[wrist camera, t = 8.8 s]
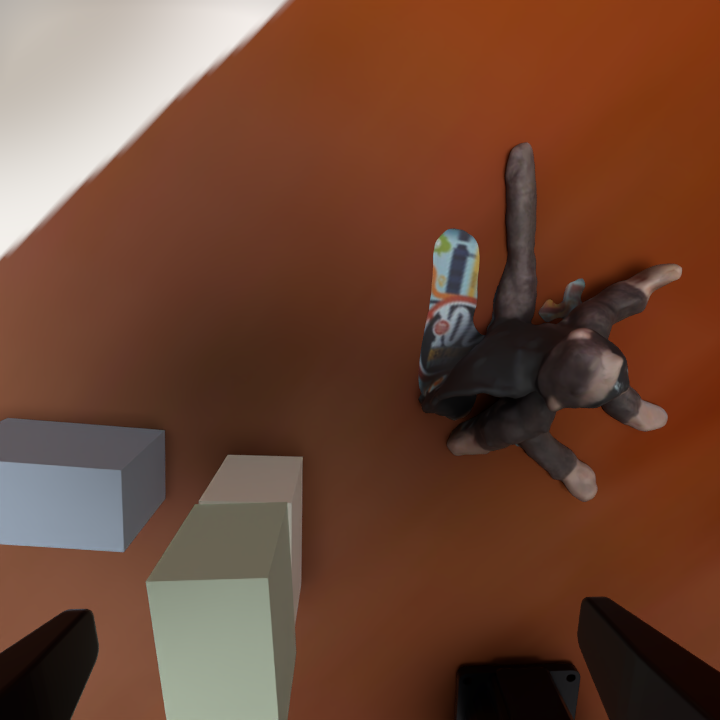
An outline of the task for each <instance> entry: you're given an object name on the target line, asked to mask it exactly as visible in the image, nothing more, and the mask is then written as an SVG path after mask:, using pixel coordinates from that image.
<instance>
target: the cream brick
mask: <svg viewBox="0 0 720 720" xmlns="http://www.w3.org/2000/svg"><path fill="white" fill-rule="evenodd" d="M302 472H303V457H293V456H255V455H227V457H226V458H225V460H224V462H223V463H222V465H221V466H220V468H219V469H218V471H217V473H216V474H215V476H214V477H213V479H212V481H211V482H210V484H209V485H208V487H207V489H206V490H205V492H204V493H203V495H202V497H201V498H200V500H199V504H228V503H265V502H287V503H288V520H289V537H290V554H291V571H292V588H293V605H294V622H295V623H296V616H297V609H298V602H299V596H300V589H301V563H302Z"/></svg>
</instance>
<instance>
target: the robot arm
mask: <svg viewBox="0 0 720 720" xmlns="http://www.w3.org/2000/svg"><path fill="white" fill-rule="evenodd" d="M577 636H578V643H579V647H580V649H581V652H582V654H583V657H584V659H585V662H586V664H587V666H588V669H589V671H590V674H591V676H592V679H593V681H594V683H595V686H596V688H597V691H598V693H599V696H600V698H601V700H602V703H603V705H604V708H605V710H606V713H607V715H608V717H609V720H720V672H719V671H717V670H716V669H714V668H713V667H711V666H710V665H708V664H707V663H705V662H704V661H702V660H701V659H699V658H698V657H696V656H695V655H693V654H692V653H690V652H689V651H687V650H686V649H684V648H683V647H681V646H680V645H678V644H677V643H675V642H674V641H672V640H671V639H669V638H668V637H666V636H665V635H663V634H662V633H660V632H659V631H657V630H656V629H654V628H653V627H651V626H650V625H648V624H647V623H645V622H644V621H642V620H641V619H639V618H638V617H636V616H635V615H633V614H632V613H630V612H629V611H627V610H626V609H624V608H623V607H621V606H620V605H618V604H617V603H615V602H614V601H612V600H611V599H609V598H607V597H586V598H584V599H583V600H582V603H581V609H580V616H579V624H578V631H577ZM98 651H99V643H98V638H97V632H96V626H95V621H94V615H93V613H92V611H91V610H88V609H70V610H66V611H64V612H62V613H60V614H59V615H57V616H56V617H54V618H53V619H51V620H50V621H48V622H47V623H45V624H44V625H42V626H41V627H39V628H38V629H36V630H35V631H33V632H32V633H30V634H29V635H27V636H26V637H24V638H23V639H21V640H20V641H18V642H16V643H15V644H13V645H12V646H10V647H9V648H7V649H6V650H4V651H3V652H1V653H0V720H71V718H72V715H73V713H74V711H75V708H76V706H77V704H78V702H79V699H80V697H81V695H82V692H83V690H84V688H85V685H86V683H87V681H88V679H89V676H90V674H91V672H92V669H93V667H94V665H95V662H96V660H97V656H98ZM579 683H580V674H579V672H578V671H577V669H576V667H575V666H574V665H572V664H534V665H499V666H466V667H462V668H460V669H459V670H458V672H457V680H456V698H455V716H454V720H575V712H576V705H577V698H578V691H579Z"/></svg>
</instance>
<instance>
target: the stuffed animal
mask: <svg viewBox="0 0 720 720" xmlns="http://www.w3.org/2000/svg"><path fill="white" fill-rule="evenodd" d="M505 182H506V200H507V209H506V227H507V248H508V258H507V263H506V266H505V269H504V272H503V275H502V278H501V280H500V283H499V285H498V287H497V290H496V293H495V296H494V300H493V302H494V304H493V314H492V317H493V318H492V320H491V322H490V324H489V326H488V327H487V333H486V335H482V334H480V333H479V332H478V331H477V330H476V328H475V327H474V323H473V315H474V312H475V308H476V304H477V280H478V272H479V248H478V244H477V242H476V240H475V239H474V238H473V237H472V236H471V235H469V234H468V233H467V232H465V231H463V230H459V229H448V230H447V231H445V232H444V233H443V234H442V235H441V236H440V237H439V238H438V240H437V241H436V244H435V248H434V254H433V279H432V287H431V299H430V307H429V312H428V315H427V321H426V326H425V331H424V336H423V341H422V347H421V354H420V363H419V387H420V390H421V396H420V397H419V402H420V403H421V406H422V410H423V411H424V412H425V413H435V414H438V415H440V416H446V417H447V418H449V419H451V420H458V419H461V418H463V417H465V416H467V415H468V414H469V413H470V411H471V409H472V407H473V405H474V403H475V401H476V396H477V394H480V393H485V394H489V395H492V396H495V397H502V398H500V399H499V400H498V401H497V402H495V403H494V404H493V405H492V406H491V407H490V408H488V409H487V410H485V411H484V412H482V413H481V414H479V415H478V416H476V417H473V418H471V419H470V420H467V421H465V422H463V423H461V424H459V425H458V426H457V427H456V428H455V429H454V430H453V431H452V433H451V434H450V437H449V440H448V442H447V447H448V448H449V450H450V451H451V452H452V453H453V454H454V455H456V456H461V455H466V454H470V455H474V454H487V453H489V452H490V451H494V450H498V449H502V448H505V447H508V446H509V445H513V444H515V445H516V446H520V447H521V448H523V449H524V450H525V451H526V453H527V455H528V456H529V457H531V458H533V459H534V460H535V461H536V462H537V463H538V464H539V465H540V466H541V467H543V468H544V469H545V470H547V471H548V472H549V474H550V476H551V477H552V478H553V479H556V480H561V481H562V482H563V483H564V484H565V486H566V487H567V489H568V490H569V492H570V493H571V494H572V495H573V496H574V497H576V498H578V499H579V500H581V501H583V502H586V501H588V500H590V499H592V498H594V496H595V494H596V492H597V485H596V478H595V473H594V472H593V470H592V469H591V468H590V467H589V466H588V465H587V464H585V463H583V462H581V461H579V460H578V459H577V457H576V455H575V454H574V453H573V452H572V451H571V450H570V449H569V448H568V447H566V446H564V445H562V444H561V443H560V442H558V441H557V440H556V439H555V438H553V437H552V435H551V434H550V433H549V430H550V426H551V423H552V422H553V420H554V417H555V414H556V411H558V410H560V409H562V408H597V407H600V406H602V408H603V409H604V411H605V412H606V413H608V414H609V415H610V416H611V417H613V418H615V419H617V420H618V421H620V422H621V423H623V424H626V425H629V426H631V427H633V428H635V429H638V430H641V431H651V430H654V429H658V428H661V427H663V426H664V425H665V424H666V422H667V418H668V417H667V414H666V412H665V410H664V409H663V408H661V407H659V406H657V405H654V404H652V403H649V402H646V401H643V400H641V397H640V396H639V394H638V393H637V392H636V391H635V390H634V389H633V388H632V387H630V386H629V378H628V366H627V360H626V358H625V356H624V355H623V353H622V352H621V351H620V349H619V348H618V347H617V346H616V345H614V344H613V343H612V342H610V341H609V340H608V337H609V334H610V331H611V327H612V325H613V324H615V323H617V322H619V321H621V320H623V319H625V318H627V317H629V316H632V315H634V314H638V313H640V312H642V311H643V310H644V309H645V307H646V305H647V302H648V300H649V297H650V295H651V293H652V292H653V291H655V290H657V289H659V288H660V287H663V286H665V285H667V284H669V283H670V282H672V281H675V280H677V279H679V278H680V276H681V273H682V268H681V267H680V266H678V265H676V264H660V265H655V266H652V267H650V268H647V269H645V270H643V271H641V272H640V273H638V274H636V275H634V276H633V277H631V278H629V279H628V280H625V281H621V282H617V283H615V284H612V285H610V286H608V287H607V288H605V289H604V290H602V291H601V292H600V293H599V294H597V295H596V296H595V297H593V298H591V299H589V300H587V301H585V302H583V303H582V301H581V294H582V292H583V290H584V287H585V282H584V280H583V279H578V280H576V281H574V282H571V283H570V284H568V285H567V287H566V289H565V292H564V298H563V301H562V302H561V303H560V304H558V305H557V304H555V303H554V302H553V301H552V300H547V301H546V302H545V303H544V305H543V306H542V308H541V309H540V310H539V315H540V316H541V317H542V319H543V320H544V321H545V322H550V321H552V320H553V319H555V318H562V319H563V320H562V321H560V322H559V323H558V324H551V323H543V324H540V325H533V324H532V323H531V320H532V318H533V315H534V311H535V303H536V297H537V291H536V287H537V277H536V271H535V269H536V259H535V255H534V246H535V231H536V201H537V195H536V181H535V164H534V157H533V151H532V148H531V145H530V144H529V143H521V144H519V145H517V146H515V147H514V148H513V149H512V150H511V152H510V156H509V159H508V163H507V167H506V173H505Z"/></svg>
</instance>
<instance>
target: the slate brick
mask: <svg viewBox="0 0 720 720" xmlns="http://www.w3.org/2000/svg"><path fill="white" fill-rule="evenodd" d="M164 500H165V430H157V429H144V428H131V427H118V426H105V425H92V424H79V423H67V422H54V421H41V420H28V419H15V418H7V419H4V420H2V421H0V544H8V545H23V546H38V547H54V548H69V549H84V550H100V551H115V552H124V551H125V550H126V549H127V547H128V546H129V545H130V544H131V542H132V541H133V540H134V538H135V537H136V536H137V535H138V533H139V532H140V531H141V529H142V528H143V527H144V525H145V524H146V523H147V522H148V520H149V519H150V518H151V516H152V515H153V514H154V513H155V511H156V510H157V509H158V507H159V506H160V505H161V504H162V502H163V501H164Z"/></svg>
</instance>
